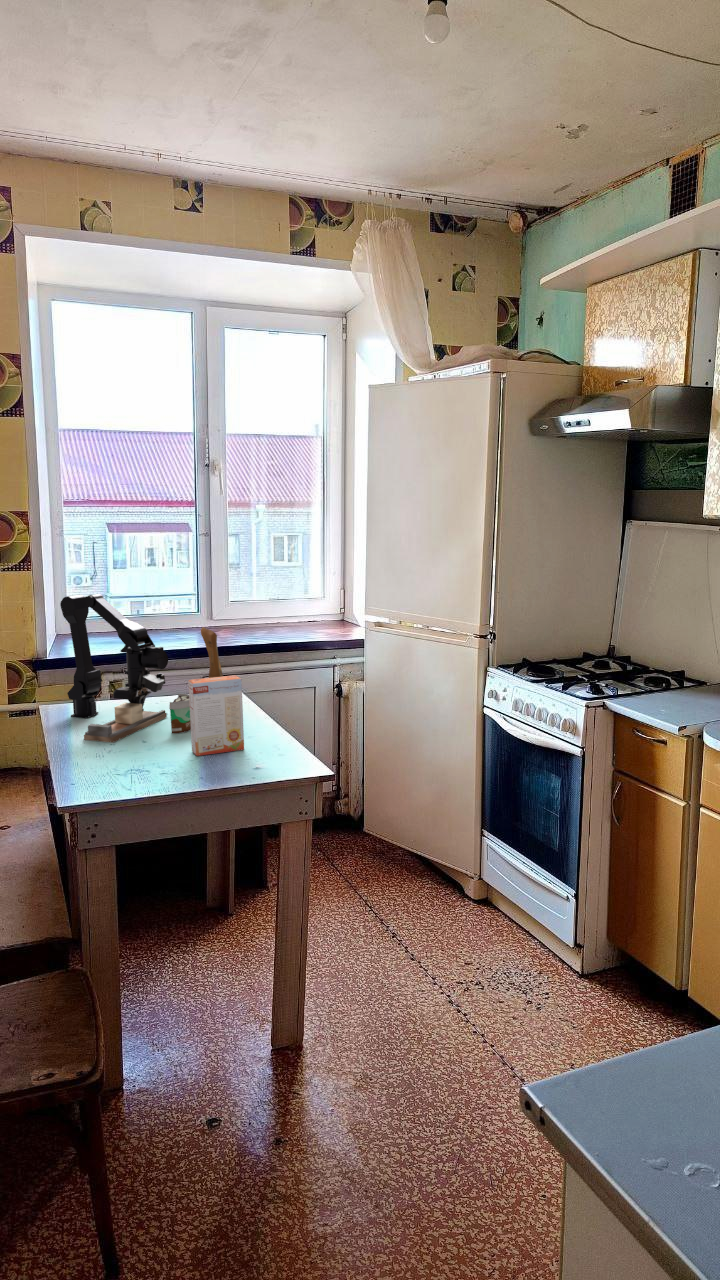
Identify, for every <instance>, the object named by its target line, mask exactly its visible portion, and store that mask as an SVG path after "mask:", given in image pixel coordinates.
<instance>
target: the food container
mask: <svg viewBox="0 0 720 1280" xmlns="http://www.w3.org/2000/svg"><path fill="white" fill-rule="evenodd" d="M169 714H170V727H171V734H183V733H188V732H191V723H190V704H189V693H177V697H176V698H175V699H173V701H170V702H169Z"/></svg>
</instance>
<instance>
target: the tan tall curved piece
mask: <svg viewBox="0 0 720 1280" xmlns="http://www.w3.org/2000/svg"><path fill="white" fill-rule="evenodd" d="M200 635H201V637H202V639H203V641H204V644H205V648H206V650H207V654H208V659H209V670H208V677H207V678H213V677H223V676H224V675H223V670H222V666H221V662H220V658H219V650H218V635H217V633H216V632H214V631H213V630H212V629H208V628H206V627H204V626H202V628H201V629H200Z"/></svg>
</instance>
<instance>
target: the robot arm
mask: <svg viewBox="0 0 720 1280" xmlns="http://www.w3.org/2000/svg"><path fill="white" fill-rule="evenodd" d="M59 604H60V609H61V612H62V616H63V618H64V619H65V621H67V623H68V624H69V630H70V636H71V641H72V646H73V653H74V659H75V666H76V669H75V671H74V675H73V686H72V687H71V688H70V689H69V690H68V692H67V697H68V699H69V700H72V706H73V714H71V715H70V718H79V719H80V718H81V719H89V718H92V717H94V716H97V715H99V712H98V711H97V702H96V700H95V696H99V692H100V689H101V687H102V682H103V679H102V674H101V673H102V672H101V669H97V668H95V666H94V665H93V659H92V654H91V649H90V648H91V647H90V640H89V635H88V628H87V624H86V622H87V619H88V616H89V612H90V611H89V608H90V609H92V610H93V611H94V612H96V614H97V615H98V616H100V617H101V618H102V620H104V621H105V622H106V623H108V624H109V625H110V626H111V627H112V628H113V629H114V630H115V631H116V632H117V636H118V638H119V640H120V641H121V642H122V643H123V647H122V648H121V649H120V653H125V654H126V670H124V674H125V675H127V682H126V683H124V685H125V687H124V686H123V687H118V688H116V689H114V691H113V692H112V695H113V697H112V698H113V699H115V700H126V701H128V703H137V704H142V709H144V705H145V702H146V699H147V697H148V696H149V695H150V694H151V693H152V692H153V693H156V692H158V691H162V689H163V685H165V684H166V678H165V674H164V673H162V672H159V673H157V674H151V672H150V669H154V670H156V669H157V670H164V669H165V668H166V667H167V666H168V663H169V656H168V654H167V652H166V651H165V650H164V649H165V648H164V647H163V646H158V647H156V644H155V643H154V642H153V640H152V639H151V637H150V635H149V634H148V630H147V629H146V627H144V626H142V625H141V624H139V623H138V622H136V621H132V620H129V619H128V618H127V617H125V616H124V615H123V614H122V612H120V611H119V610H118V609H116V608H115V607H114V606H113V605H112V604H111V603H110V602H108V601H107V600H106V599H105V597H104V596H103V595H102V594H100V593H96V594H95V593H94V594H89V595H87V596H85V595H84V594H74V595H68V596H64V597H63V598H62V600H60V603H59Z"/></svg>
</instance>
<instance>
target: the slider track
mask: <svg viewBox="0 0 720 1280" xmlns="http://www.w3.org/2000/svg"><path fill="white" fill-rule="evenodd" d="M142 711H143V719H142V720H140V721H137V722H135V723H133V724H123V723H115V719H113V720H110V721H108V722H105V723H104V724H100V723H99V724H97V723H90V724H88V725H87V731H85V732H84V735H83V741H93V742H103V743H110V744H111V743H116V742H117V741H120V740H122V739H124V738H126V737H129V736H130V735H132V734H134V733H137V732H138V731H141V730H143V729H145V728H147V727H150V726H151V725H153V724H155V723H158V722H159V721H162V720H164V719H166V718H167V717H168V716H167V714H168V713H167V712H166V710H165V709H162V710H159V711H152V710H151V711H150V710H149V711H147V710H145V709H144V708H143V709H142Z"/></svg>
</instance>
